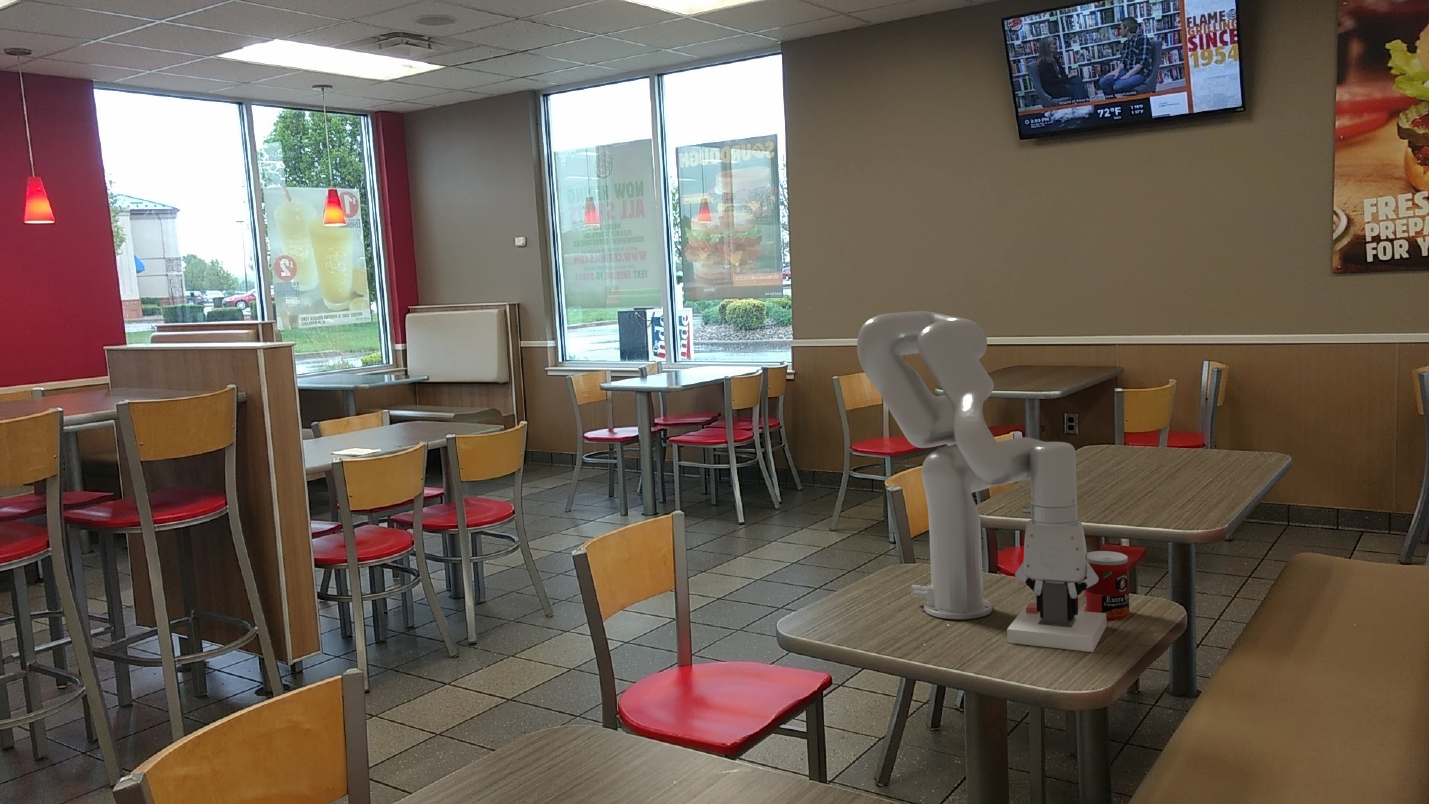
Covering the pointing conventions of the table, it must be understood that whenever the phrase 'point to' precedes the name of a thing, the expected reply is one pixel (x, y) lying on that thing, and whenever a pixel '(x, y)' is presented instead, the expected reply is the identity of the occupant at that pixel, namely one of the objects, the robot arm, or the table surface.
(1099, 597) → the canned food
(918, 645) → the table surface
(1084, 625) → the socket plate
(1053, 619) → the plug
